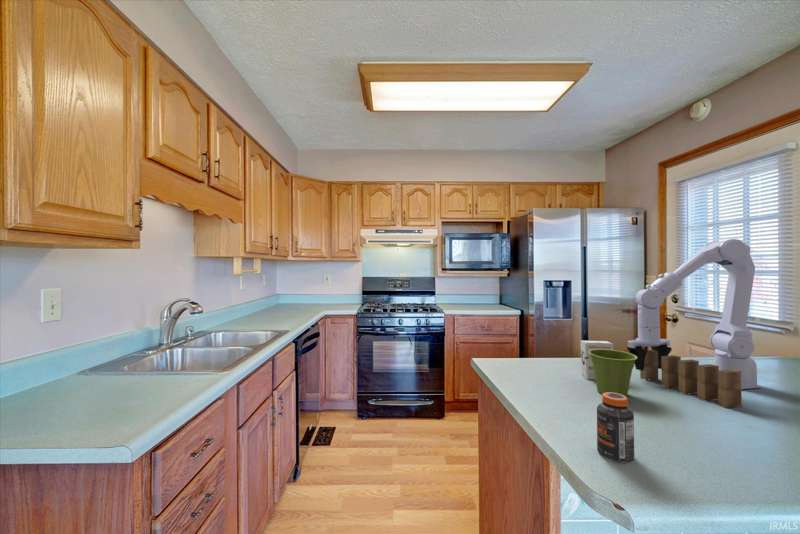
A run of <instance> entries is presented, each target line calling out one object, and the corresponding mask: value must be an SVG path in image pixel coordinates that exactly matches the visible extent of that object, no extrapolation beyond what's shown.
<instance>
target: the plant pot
mask: <svg viewBox="0 0 800 534" xmlns="http://www.w3.org/2000/svg"><path fill="white" fill-rule="evenodd" d="M588 353H589V354H590V355H591V360H592V362H593V368H594V374H595V379H596V380H595V379H594V380H595V383H596V391H597V392H599V393H600V394H601V395H602V394H603V393H606V392H613V393H618V394H622V395H624V396H626V397H627V396H628V393H629V388H630V384H631V377H632V373H633V369H634V367H635V364H634V363H635V360H636V359H637V358H638V357H637V356H636V355H633V354H631V353H630V352H627V351H621V350H615V349H614V350H608V349H593V350H589V351H588Z"/></svg>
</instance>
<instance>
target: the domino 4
mask: <svg viewBox="0 0 800 534" xmlns="http://www.w3.org/2000/svg"><path fill="white" fill-rule="evenodd" d="M718 370H719V366H717V365H715V364H713V363H711V364H710V363H709V364H699V365H697V393H696V394H697V399H698V398H699V399H698V400H701V399H702V400H701V401H704V400H708V401H715V399H717V400H718Z"/></svg>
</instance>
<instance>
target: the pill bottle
mask: <svg viewBox="0 0 800 534" xmlns="http://www.w3.org/2000/svg"><path fill="white" fill-rule="evenodd" d="M601 395H602V397H601V398H602V402H601V403H598V405H597V407H596V450H597V452H598V453H599V454H600V456H602V457H603V458H605V459H606V460H609V461H611V462H615V463H620V464H630V463H632V462H634V460H635V415H634V412H633V410H632V409H631V408H629V407H628V404H629V403H628V397H627V396H624V395H622V394H618V393H613V392H606V393H603V394H601Z"/></svg>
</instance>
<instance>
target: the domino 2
mask: <svg viewBox="0 0 800 534" xmlns="http://www.w3.org/2000/svg"><path fill="white" fill-rule="evenodd" d="M679 360H682V358H681V356H680V355H668V356H661V369H660V370H661V386H662V385H663V386H665V387H664V388H666V387H675V388H679V379H678V361H679ZM663 386H662V387H663Z"/></svg>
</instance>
